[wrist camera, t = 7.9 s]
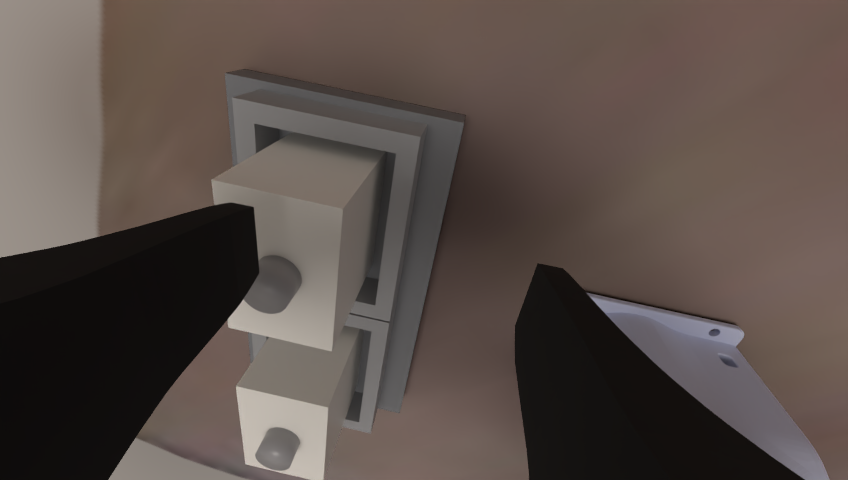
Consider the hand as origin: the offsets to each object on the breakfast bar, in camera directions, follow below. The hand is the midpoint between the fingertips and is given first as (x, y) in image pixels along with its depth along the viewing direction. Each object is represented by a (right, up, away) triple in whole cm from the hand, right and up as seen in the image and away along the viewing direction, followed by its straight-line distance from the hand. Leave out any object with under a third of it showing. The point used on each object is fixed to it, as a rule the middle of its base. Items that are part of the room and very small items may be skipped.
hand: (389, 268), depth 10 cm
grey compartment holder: (-4, -1, +12) cm, 13 cm away
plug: (-3, +3, +8) cm, 9 cm away
